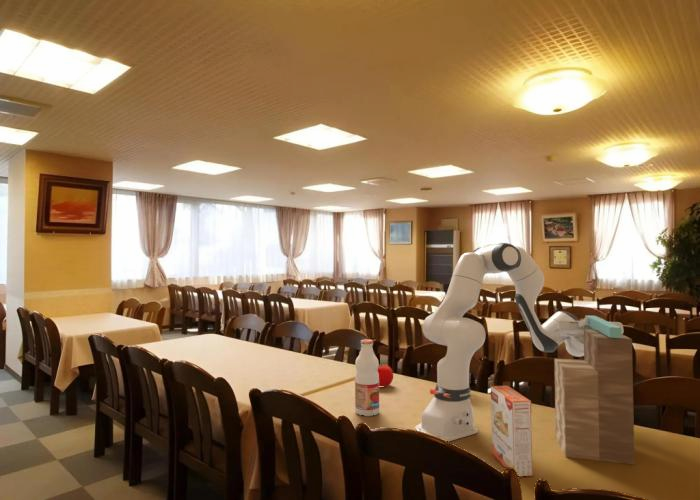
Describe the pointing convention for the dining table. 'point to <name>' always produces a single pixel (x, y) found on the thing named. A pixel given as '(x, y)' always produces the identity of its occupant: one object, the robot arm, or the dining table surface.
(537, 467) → the dining table surface
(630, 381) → the step stand
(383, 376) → the tomato
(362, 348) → the fruit juice
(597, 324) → the teal bar
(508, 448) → the cracker box
